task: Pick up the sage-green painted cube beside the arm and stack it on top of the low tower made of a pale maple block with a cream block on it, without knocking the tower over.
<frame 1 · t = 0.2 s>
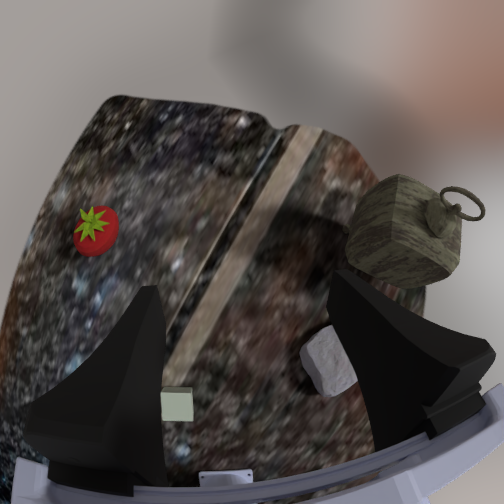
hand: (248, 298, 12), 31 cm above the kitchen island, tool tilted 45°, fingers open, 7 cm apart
tabletop clock: (366, 258, 48), on the kitchen island
sage cube: (178, 400, 37), on the kitchen island
strawberry: (107, 242, 41), on the kitchen island
stone block: (335, 352, 43), on the kitchen island
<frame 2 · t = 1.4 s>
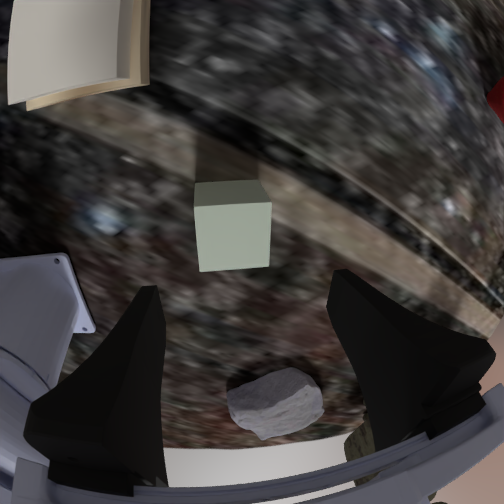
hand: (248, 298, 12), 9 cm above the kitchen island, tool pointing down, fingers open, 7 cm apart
tabletop clock: (374, 395, 39), on the kitchen island
sage cube: (227, 209, 19), on the kitchen island
maple base block: (95, 42, 12), on the kitchen island, touching cream top block
strawberry: (486, 97, 17), on the kitchen island
cream top block: (77, 36, 10), point 3 cm above the kitchen island, touching maple base block
stone block: (279, 393, 33), on the kitchen island
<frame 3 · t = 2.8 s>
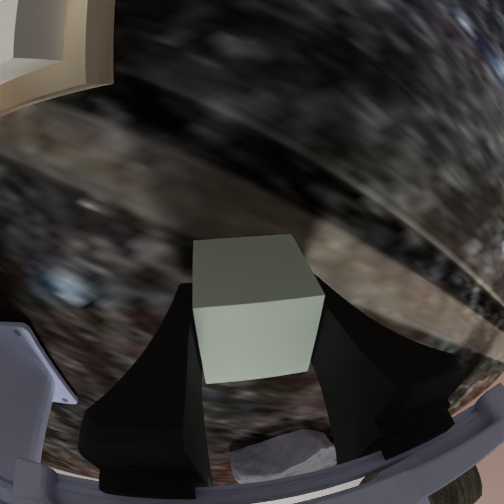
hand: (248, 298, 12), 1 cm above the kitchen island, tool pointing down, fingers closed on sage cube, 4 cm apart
tabletop clock: (392, 433, 32), on the kitchen island
sage cube: (243, 277, 13), on the kitchen island, touching gripper
maple base block: (36, 24, 6), on the kitchen island, touching cream top block
stone block: (288, 447, 27), on the kitchen island
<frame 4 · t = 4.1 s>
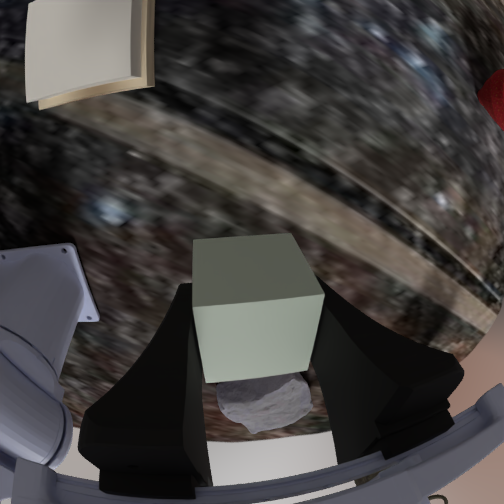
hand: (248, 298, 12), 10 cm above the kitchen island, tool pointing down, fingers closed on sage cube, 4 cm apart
sage cube: (243, 276, 13), point 9 cm above the kitchen island, touching gripper
maple base block: (103, 46, 13), on the kitchen island, touching cream top block
strawberry: (478, 95, 18), on the kitchen island
cream top block: (90, 39, 11), point 3 cm above the kitchen island, touching maple base block
stone block: (268, 388, 34), on the kitchen island
when the fingers open (8 cm above the kitchen island, at t = 6.1 s): sage cube drops 1 cm, resting on cream top block.
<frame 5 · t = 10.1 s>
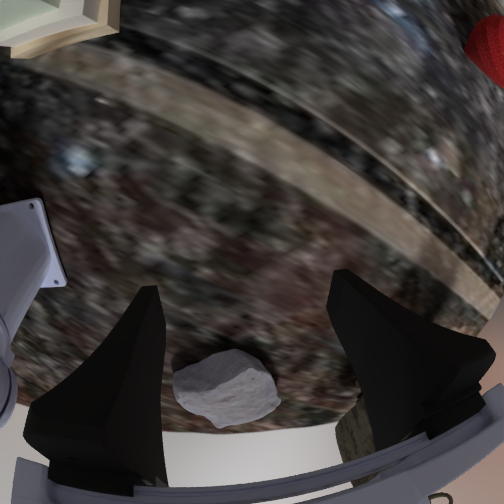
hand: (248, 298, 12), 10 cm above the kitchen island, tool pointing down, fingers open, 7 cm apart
tabletop clock: (367, 376, 37), on the kitchen island
maple base block: (75, 2, 11), on the kitchen island, touching cream top block
strawberry: (465, 50, 16), on the kitchen island
stone block: (232, 378, 32), on the kitchen island
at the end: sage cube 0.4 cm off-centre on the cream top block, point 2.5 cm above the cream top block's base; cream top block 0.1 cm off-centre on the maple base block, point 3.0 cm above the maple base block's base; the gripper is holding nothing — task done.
